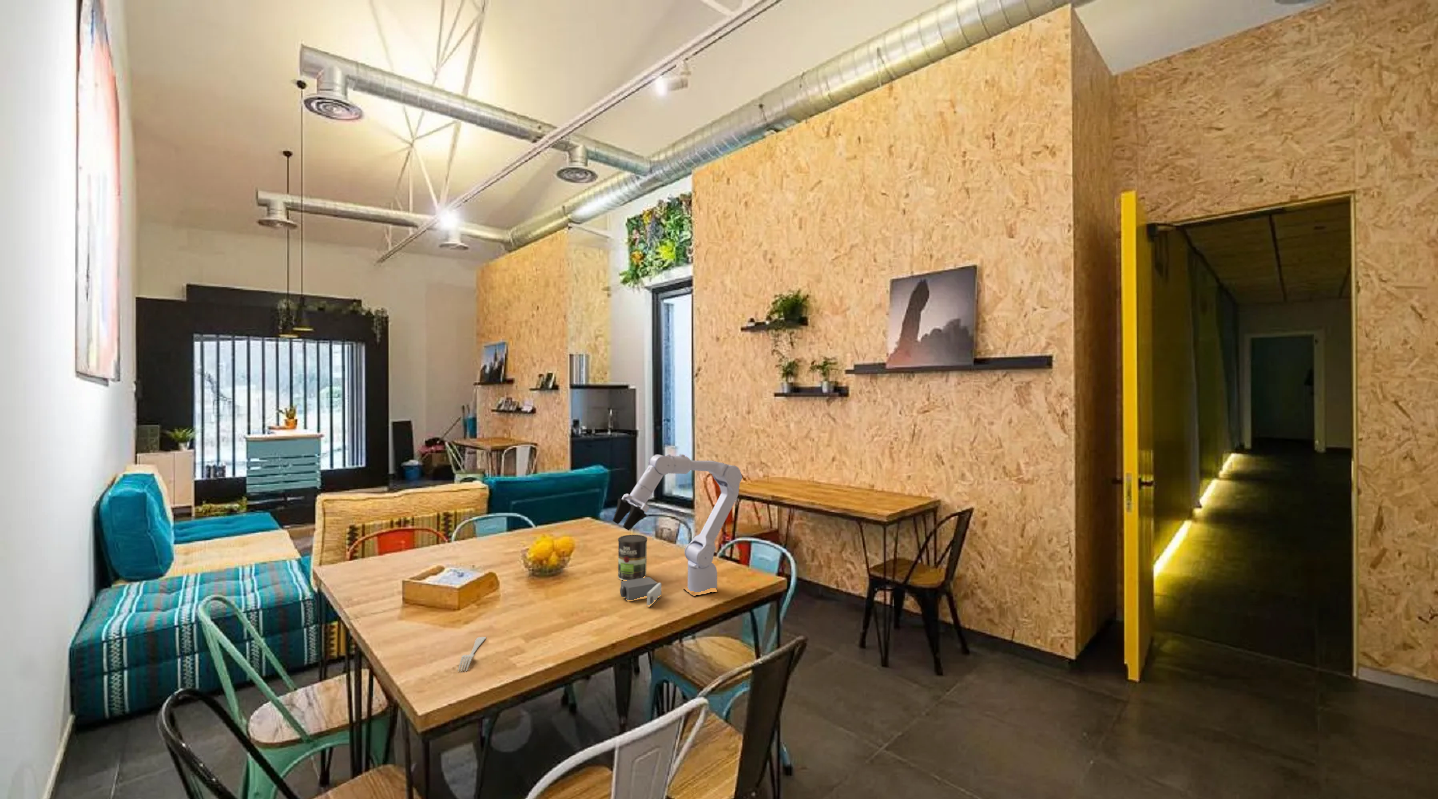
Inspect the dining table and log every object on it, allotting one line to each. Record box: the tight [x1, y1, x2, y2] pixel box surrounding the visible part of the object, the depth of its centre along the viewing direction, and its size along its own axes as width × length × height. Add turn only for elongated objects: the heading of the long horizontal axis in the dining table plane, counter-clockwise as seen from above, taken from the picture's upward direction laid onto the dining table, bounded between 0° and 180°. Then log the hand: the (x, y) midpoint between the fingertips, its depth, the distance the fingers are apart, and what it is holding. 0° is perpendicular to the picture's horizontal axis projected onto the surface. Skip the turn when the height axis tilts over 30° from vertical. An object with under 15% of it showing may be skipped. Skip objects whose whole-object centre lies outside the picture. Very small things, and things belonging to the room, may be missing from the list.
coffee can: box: [617, 534, 648, 581], centre depth 212 cm, size 10×10×14 cm
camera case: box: [619, 576, 659, 601], centre depth 193 cm, size 11×7×4 cm, turn 120°
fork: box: [457, 636, 487, 672], centre depth 151 cm, size 3×21×3 cm, turn 9°
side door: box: [646, 582, 662, 606], centre depth 188 cm, size 10×2×4 cm, turn 165°
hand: (620, 525), depth 183 cm, fingers open, 7 cm apart
